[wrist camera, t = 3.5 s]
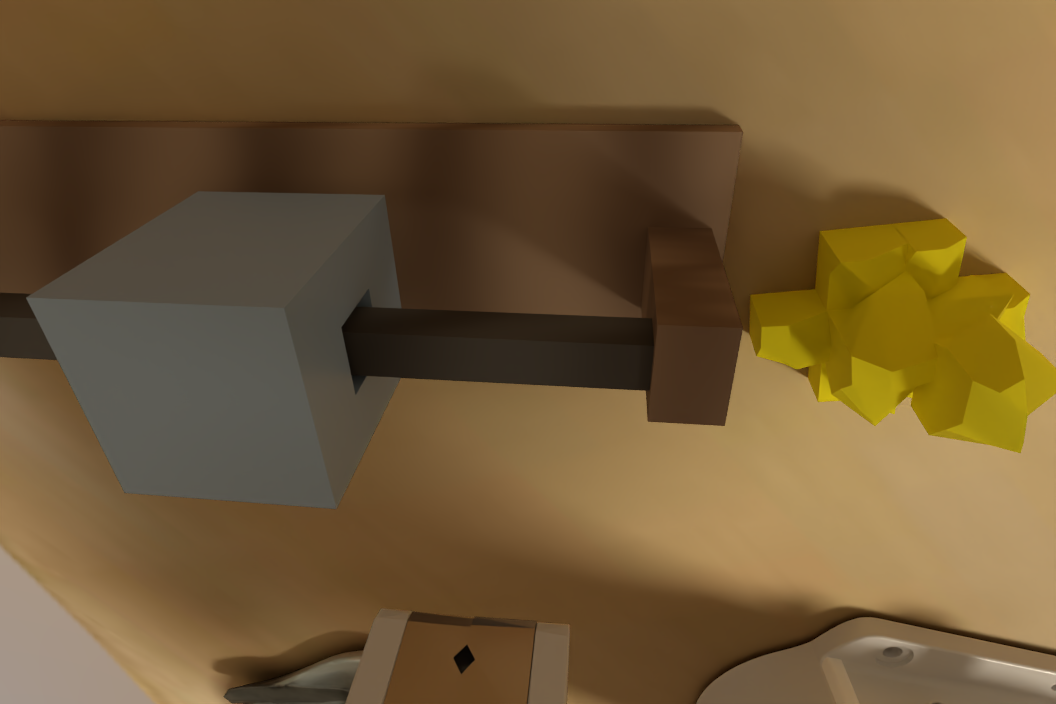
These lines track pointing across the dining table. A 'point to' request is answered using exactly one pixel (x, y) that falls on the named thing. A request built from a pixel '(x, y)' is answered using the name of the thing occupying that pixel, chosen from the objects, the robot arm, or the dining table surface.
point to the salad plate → (304, 684)
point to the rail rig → (435, 239)
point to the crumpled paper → (910, 333)
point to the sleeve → (229, 345)
